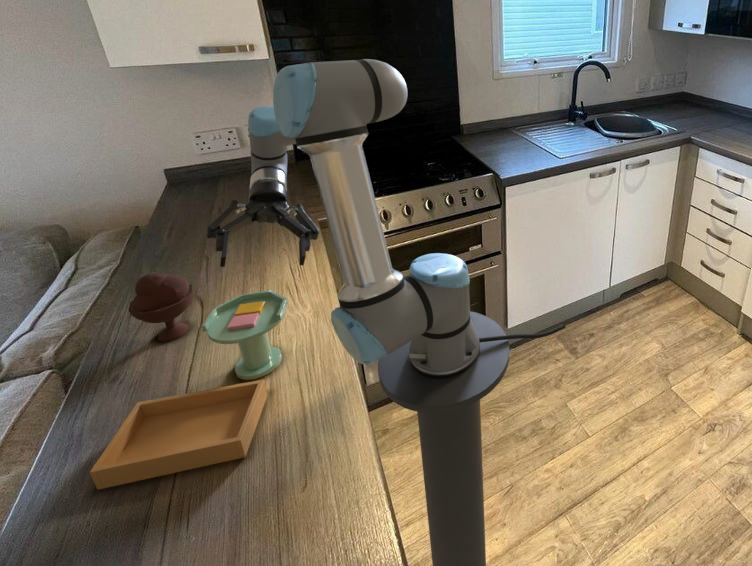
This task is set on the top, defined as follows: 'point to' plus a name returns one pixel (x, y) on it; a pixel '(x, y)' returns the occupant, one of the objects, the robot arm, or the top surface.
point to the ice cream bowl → (162, 302)
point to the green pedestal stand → (249, 332)
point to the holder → (182, 434)
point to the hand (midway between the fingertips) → (264, 261)
